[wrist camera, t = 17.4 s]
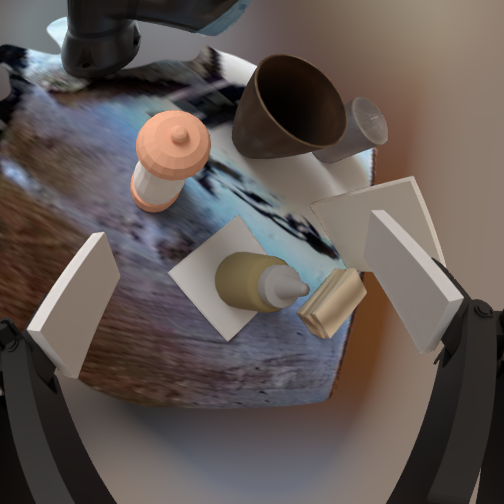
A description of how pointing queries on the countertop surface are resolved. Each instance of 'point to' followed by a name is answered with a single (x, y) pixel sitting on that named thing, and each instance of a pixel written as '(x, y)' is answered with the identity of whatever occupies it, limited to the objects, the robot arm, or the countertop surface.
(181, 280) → the grey mat
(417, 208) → the panel
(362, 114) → the pillar candle
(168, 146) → the pepper shaker
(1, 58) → the countertop surface
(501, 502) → the robot arm
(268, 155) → the plant pot
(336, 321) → the offcut stack
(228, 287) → the squeeze bottle
